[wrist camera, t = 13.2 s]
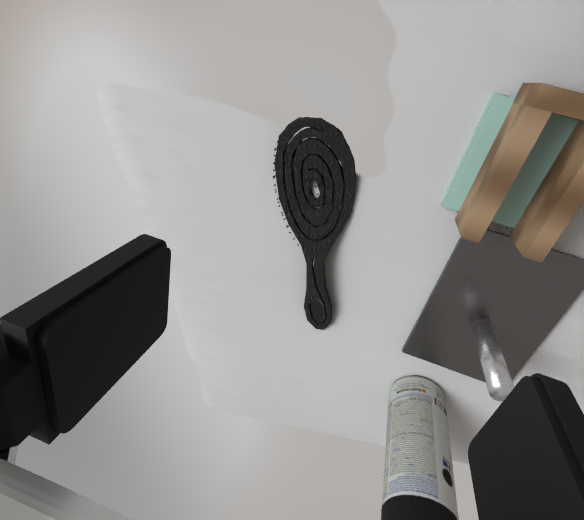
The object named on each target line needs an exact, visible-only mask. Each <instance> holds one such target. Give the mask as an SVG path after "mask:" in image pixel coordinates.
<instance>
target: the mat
mask: <svg viewBox="0 0 584 520" xmlns="http://www.w3.org/2000/svg"><path fill="white" fill-rule="evenodd" d="M514 100H515V98H511V97H507V96H503V95H499V94H496V93H493V95H492V97H491V99H490V101H489V103H488V106H487V108H486V110H485V112H484V114H483V116H482V118H481V121H480V123H479V125H478V127H477V129H476V131H475V133H474V136H473V138H472V140H471V142H470V144H469V146H468V149H467V151H466V153H465V155H464V157H463V159H462V161H461V164H460V166H459V168H458V170H457V172H456V174H455V176H454V179H453V181H452V183H451V185H450V187H449V189H448V191H447V194H446V196H445V198H444V200H443V202H442V204H441V205H442V207H445V208H449V209H452V210H455V211H459V210H460V208H461V206H462V204H463V202H464V200H465V198H466V196H467V194H468V192H469V190H470V188H471V186H472V184H473V182H474V180H475V178H476V176H477V174H478V172H479V170H480V168H481V166H482V164H483V162H484V160H485V158H486V156H487V154H488V152H489V150H490V148H491V146H492V144H493V142H494V140H495V138H496V136H497V134H498V132H499V130H500V128H501V126H502V124H503V122H504V120H505V118H506V116H507V114H508V112H509V110H510V108H511V106H512V104H513V102H514ZM578 121H579V120H577V119H573V118H569V117H565V116H561V115H557V114H553V113H552V114H551V115H550V117H549V119H548V121H547V123H546V124H545V126H544V128H543V130H542V132H541V133H540V135H539V137H538V139H537V140H536V142H535V144H534V146H533V148H532V149H531V151H530V153H529V155H528V157H527V158H526V160H525V162H524V164H523V166H522V167H521V169H520V171H519V173H518V174H517V176H516V178H515V180H514V182H513V183H512V185H511V187H510V189H509V191H508V192H507V194H506V196H505V198H504V200H503V201H502V203H501V205H500V207H499V209H498V210H497V212H496V214H495V216H494V217H493V219H492V221H491V222H495V223H498V224H501V225H505V226H508V227H511V228H515V226H516V224H517V223H518V221H519V219H520V218H521V216H522V214H523V213H524V211H525V209H526V208H527V206H528V204H529V203H530V201H531V199H532V198H533V196H534V194H535V193H536V191H537V189H538V188H539V186H540V184H541V183H542V181H543V179H544V178H545V176H546V174H547V173H548V171H549V169H550V168H551V166H552V164H553V163H554V161H555V159H556V158H557V156H558V154H559V153H560V151H561V149H562V148H563V146H564V144H565V143H566V141H567V139H568V138H569V136H570V134H571V133H572V131H573V129H574V128H575V126H576V124H577V123H578Z"/></svg>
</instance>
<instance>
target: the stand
mask: <svg viewBox="0 0 584 520" xmlns="http://www.w3.org/2000/svg"><path fill="white" fill-rule="evenodd" d="M583 289H584V259H582V258H579V257H576V256H572V255H569V254H566V253H563V252H559V251H556V250H553V249H551V250H550V251H549V253H548V254H547V256H546V257H545V259H544V260H543V262H542V263H541V262H537V261H534V260H531V259H528V258H525V257H523V256H522V255H521V253H520V252H519V250H518V249H517V247H516V246H515V244H514V243H513V241H512V240H511V238H510V237H509V236H507V235H504V234H501V233H497V232H494V231H491V230H488V229H487V230H486V232H485V234H484V235H483V237H482V239H481V241H480V243H477V242H474V241H471V240H468V239H464V238H461V237H460V239H459V241H458V243H457V245H456V247H455V249H454V251H453V253H452V255H451V257H450V259H449V260H448V262H447V264H446V266H445V268H444V270H443V272H442V274H441V276H440V278H439V280H438V282H437V283H436V285H435V287H434V289H433V291H432V293H431V295H430V297H429V299H428V301H427V303H426V305H425V307H424V308H423V310H422V312H421V314H420V316H419V318H418V320H417V322H416V324H415V326H414V328H413V330H412V331H411V333H410V335H409V337H408V339H407V341H406V343H405V345H404V347H403V349H402V352H404V353H407V354H409V355H412V356H415V357H418V358H420V359H423V360H426V361H429V362H431V363H434V364H437V365H440V366H442V367H445V368H448V369H450V370H453V371H456V372H459V373H461V374H464V375H467V376H470V377H472V378H475V379H478V380H481V381H483V382H486V383H487V387H488V391H489V394H490V396H491V397H492V398H493V399H495V400H497V401H504V400H505V399H506V397H507V396H508V395H509V394H510V392H511V391H512V390H513V389H514V385H513V382H512V379H513V378H514V377H515V375H516V374H517V373H518V371H519V370H520V369H521V368H522V366H523V365H524V364H525V363H526V361H527V360H528V359H529V357H530V356H531V355H532V354H533V352H534V351H535V350H536V349H537V347H538V346H539V345H540V343H541V342H542V341H543V340H544V338H545V337H546V336H547V334H548V333H549V332H550V331H551V329H552V328H553V327H554V326H555V324H556V323H557V322H558V320H559V319H560V318H561V317H562V315H563V314H564V313H565V311H566V310H567V309H568V308H569V306H570V305H571V304H572V303H573V301H574V300H575V299H576V297H577V296H578V295H579V294H580V292H581V291H582V290H583Z"/></svg>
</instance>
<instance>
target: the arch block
mask: <svg viewBox="0 0 584 520" xmlns="http://www.w3.org/2000/svg"><path fill="white" fill-rule="evenodd" d="M552 113H553V114H557V115H561V116H565V117H569V118H573V119H577V120H579V121H578V123H577V124H576V126H575V128H574V129H573V131H572V133H571V134H570V136H569V138H568V139H567V141H566V143H565V144H564V146H563V148H562V149H561V151H560V153H559V154H558V156H557V158H556V159H555V161H554V163H553V164H552V166H551V168H550V169H549V171H548V173H547V174H546V176H545V178H544V179H543V181H542V183H541V184H540V186H539V188H538V189H537V191H536V193H535V194H534V196H533V198H532V199H531V201H530V203H529V204H528V206H527V208H526V209H525V211H524V213H523V214H522V216H521V218H520V219H519V221H518V223H517V224H516V226H515V228H514V229H513V231H512V233H511V234H510V236H509V237H510V238H511V240H512V241H513V243H514V244H515V246H516V247H517V249H518V250H519V252H520V253H521V255H522V256H523V257H525V258H528V259H531V260H534V261H537V262H541V263H542V262H543V260H544V259H545V257H546V256H547V254H548V253H549V251H550V250H551V248H552V247H553V246H554V244H555V243H556V241H557V240H558V238H559V237H560V235H561V234H562V232H563V231H564V229H565V228H566V226H567V225H568V224H569V222H570V221H571V219H572V218H573V216H574V215H575V213H576V212H577V210H578V209H579V207H580V206H581V204H582V203H583V202H584V94H583V93H579V92H575V91H571V90H567V89H563V88H559V87H555V86H551V85H547V84H543V83H523V84H522V86H521V88H520V90H519V92H518V94H517V96H516V98H515V100H514V102H513V104H512V106H511V108H510V110H509V112H508V114H507V116H506V118H505V120H504V122H503V124H502V126H501V128H500V130H499V132H498V134H497V136H496V138H495V140H494V142H493V144H492V146H491V148H490V150H489V152H488V154H487V156H486V158H485V160H484V162H483V164H482V166H481V168H480V170H479V172H478V174H477V176H476V178H475V180H474V182H473V184H472V186H471V188H470V190H469V192H468V194H467V196H466V198H465V200H464V202H463V204H462V206H461V208H460V210H459V212H458V214H457V216H456V218H455V221H456V224H457V227H458V230H459V232H460V235H461V238H464V239H468V240H471V241H474V242H477V243H480V241H481V239H482V237H483V235H484V234H485V232H486V230H487V228H488V226H489V225H490V223H491V221H492V219H493V217H494V216H495V214H496V212H497V210H498V209H499V207H500V205H501V203H502V201H503V200H504V198H505V196H506V194H507V192H508V191H509V189H510V187H511V185H512V183H513V182H514V180H515V178H516V176H517V174H518V173H519V171H520V169H521V167H522V166H523V164H524V162H525V160H526V158H527V157H528V155H529V153H530V151H531V149H532V148H533V146H534V144H535V142H536V140H537V139H538V137H539V135H540V133H541V132H542V130H543V128H544V126H545V124H546V123H547V121H548V119H549V117H550V115H551V114H552Z"/></svg>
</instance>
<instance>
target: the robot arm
mask: <svg viewBox="0 0 584 520" xmlns="http://www.w3.org/2000/svg"><path fill="white" fill-rule="evenodd" d="M170 261H171V250H170V249H169V248H167V245H166V242H165V241H164V240H161V239H158V238H155V237H152V236H149V235H147V234H143V235H140V236H138V237H137V238H136V239H133V240H132V241H130V242H129V243H127V244H125V245H123V246H122V247H120V248H118V249H116V250H115V251H113V252H111V253H110V254H108V255H106V256H104V257H103V258H101V259H99V260H98V261H96V262H94V263H93V264H91V265H89V266H88V267H86V268H84V269H82V270H81V271H79V272H77V273H76V274H74V275H72V276H70V277H69V278H67V279H65V280H64V281H62V282H60V283H59V284H57V285H55V286H53V287H52V288H50V289H48V290H47V291H45V292H43V293H41V294H40V295H38V296H37V297H35V298H33V299H31V300H30V301H28V302H26V303H24V304H23V305H21V306H19V307H18V308H16V309H14V310H13V311H11V312H9V313H8V314H6V315H4V316H2V317H1V318H0V323H1V324H0V520H132V519H130V518H128V517H126V516H124V515H122V514H120V513H118V512H115V511H113V510H111V509H109V508H107V507H105V506H103V505H100V504H98V503H96V502H94V501H92V500H90V499H88V498H86V497H84V496H81V495H79V494H77V493H75V492H73V491H71V490H69V489H67V488H64V487H62V486H60V485H58V484H56V483H54V482H52V481H50V480H47V479H45V478H43V477H41V476H39V475H36V474H34V473H32V472H30V471H27V470H25V469H23V468H21V467H18V466H16V465H15V460H16V455H17V449H18V445H19V444H20V443H21V442H22V441H23V440H24V439H25V438H26V437H27V436H29V435H30V436H32V437H34V438H37V439H39V440H41V441H43V442H45V443H47V444H50V443H51V442H52V441H53V440H54V439H55V438H56V437H57V436H58V435H59V434H60V433H67V432H68V431H70V430H71V429H72V428H73V427H74V426H75V425H76V424H77V423H78V422H79V421H80V420H81V419H82V418H83V417H84V416H85V415H86V414H87V413H88V411H90V409H91V408H92V407H93V406H94V405H95V404H96V403H97V402H98V401H99V400H100V399H101V398H102V397H103V396H104V395H105V394H106V393H107V392H108V390H110V389H111V387H112V386H113V385H114V384H115V383H116V382H117V381H118V380H119V379H120V378H121V377H122V376H123V375H124V374H125V373H126V372H127V371H128V370H129V369H130V368H131V366H132V365H133V364H134V363H135V362H136V361H137V360H138V359H139V358H140V357H141V356H142V355H143V354H144V353H145V352H146V351H147V350H148V349H149V348H150V347H151V345H152V344H153V343H154V342H155V341H156V340H157V339H158V338H159V337H160V336H161V335H162V334H163V332H164V330H165V328H166V325H167V313H168V296H169V279H170ZM468 458H469V464H470V470H471V476H472V481H473V488H474V493H475V499H476V505H477V511H478V517H479V520H584V414H583V412H582V411H581V409H580V407H579V405H578V403H577V401H576V399H575V397H574V396H573V394H572V392H571V390H570V388H569V387H568V385H567V384H566V383H564V382H562V381H559V380H556V379H553V378H550V377H548V376H545V375H542V374H538V373H535V374H533V375H532V376H530V377H529V376H525V377H523V378H522V379H521V380H520V381H519V382H518V384H517V385H516V386H515V387H514V389H513V390H512V391H511V392H510V394H509V395H508V396H507V397H506V399H505V400H504V401H503V402H502V404H501V405H500V406H499V407H498V409H497V410H496V411H495V412H494V414H493V415H492V416H491V417H490V419H489V420H488V421H487V422H486V424H485V425H484V426H483V427H482V429H481V430H480V431H479V432H478V434H477V435H476V436H475V437H474V439H473V440H472V441H471V443H470V445H469V450H468Z"/></svg>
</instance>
